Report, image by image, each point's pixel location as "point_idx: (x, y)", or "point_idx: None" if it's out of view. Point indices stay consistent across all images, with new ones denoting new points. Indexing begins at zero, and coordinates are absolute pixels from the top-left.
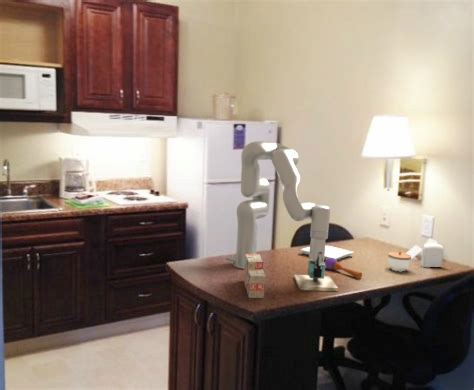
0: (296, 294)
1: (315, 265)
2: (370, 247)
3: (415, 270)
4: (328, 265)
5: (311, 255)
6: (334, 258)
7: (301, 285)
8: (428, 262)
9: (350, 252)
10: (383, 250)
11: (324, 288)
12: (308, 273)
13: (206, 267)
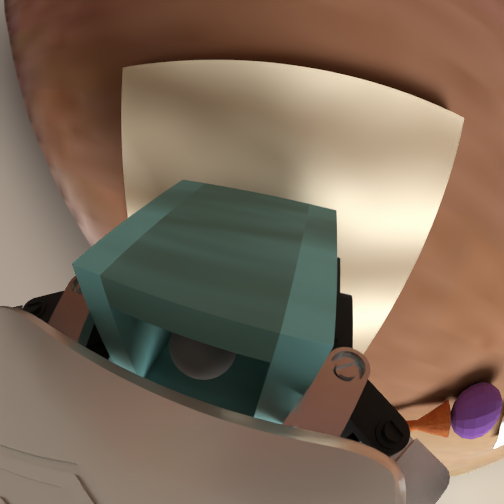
0: (77, 49)
1: (65, 296)
2: (498, 453)
3: None
4: (473, 399)
5: (20, 413)
6: (470, 438)
7: (139, 79)
8: None
9: (502, 442)
10: (472, 463)
11: None
12: (286, 206)
13: None
